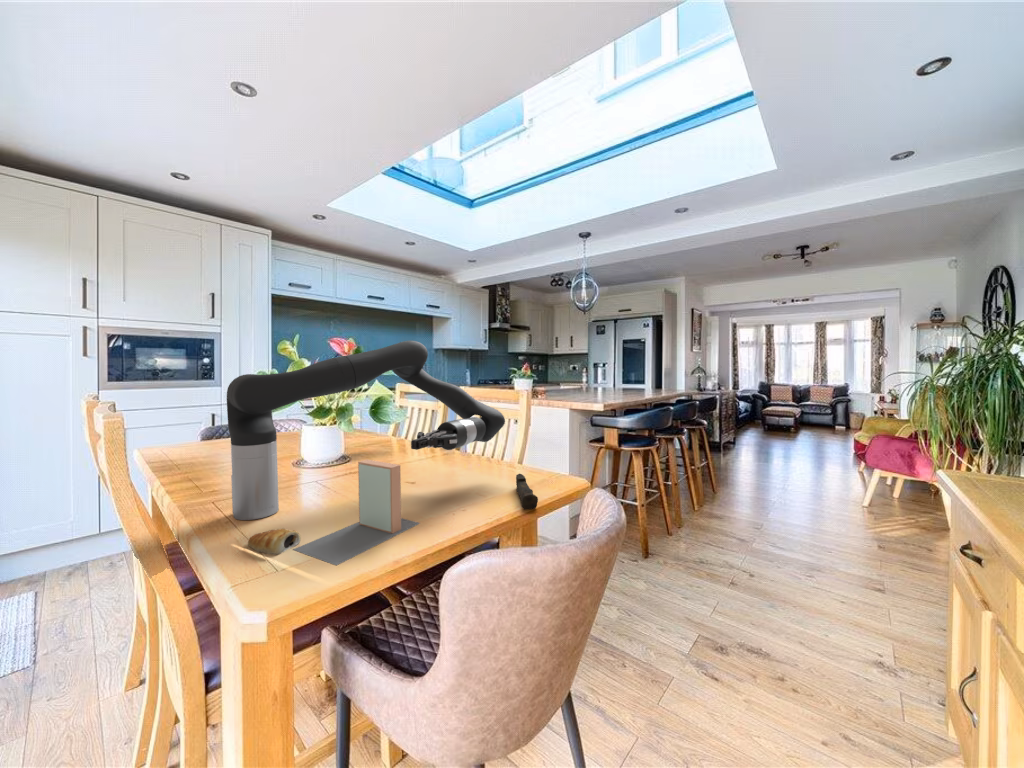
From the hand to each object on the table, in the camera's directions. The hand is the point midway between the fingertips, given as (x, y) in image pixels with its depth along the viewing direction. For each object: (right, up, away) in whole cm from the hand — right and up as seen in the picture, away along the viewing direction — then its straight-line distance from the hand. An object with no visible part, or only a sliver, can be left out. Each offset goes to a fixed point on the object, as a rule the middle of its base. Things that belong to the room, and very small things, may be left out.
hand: (413, 445), depth 99 cm
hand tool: (+26, -16, +13) cm, 33 cm away
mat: (-8, -17, -13) cm, 23 cm away
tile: (-5, -17, -9) cm, 19 cm away
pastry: (-23, -18, -18) cm, 34 cm away
